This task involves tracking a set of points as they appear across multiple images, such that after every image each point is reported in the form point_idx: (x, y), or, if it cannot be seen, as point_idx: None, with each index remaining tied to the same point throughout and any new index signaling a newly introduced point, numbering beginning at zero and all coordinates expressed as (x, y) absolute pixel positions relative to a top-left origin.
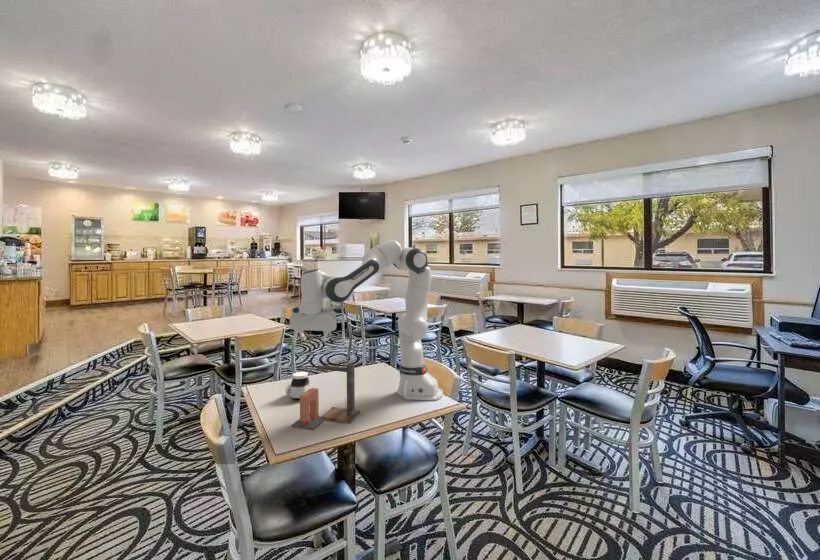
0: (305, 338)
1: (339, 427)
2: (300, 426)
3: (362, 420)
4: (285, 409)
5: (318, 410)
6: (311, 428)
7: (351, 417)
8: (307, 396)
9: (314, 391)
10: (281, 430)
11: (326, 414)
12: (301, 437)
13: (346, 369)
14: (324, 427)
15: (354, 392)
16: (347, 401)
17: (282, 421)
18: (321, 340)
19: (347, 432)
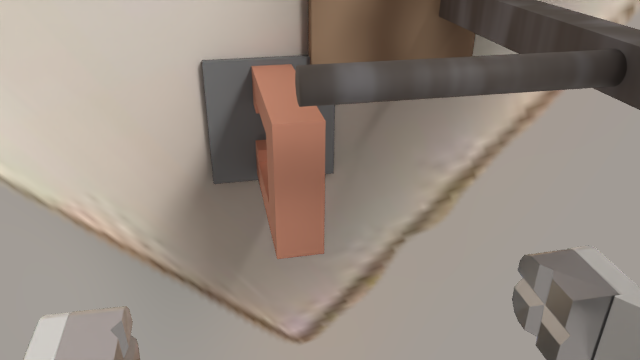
0: (123, 347)
1: (430, 111)
2: None
3: None
4: (15, 20)
5: None
6: None
7: (468, 30)
8: (323, 241)
9: (324, 169)
10: (196, 222)
11: (327, 41)
12: None
13: (609, 85)
14: (365, 134)
15: (542, 2)
16: (479, 32)
17: (131, 154)
18: (525, 324)
19: (477, 138)
